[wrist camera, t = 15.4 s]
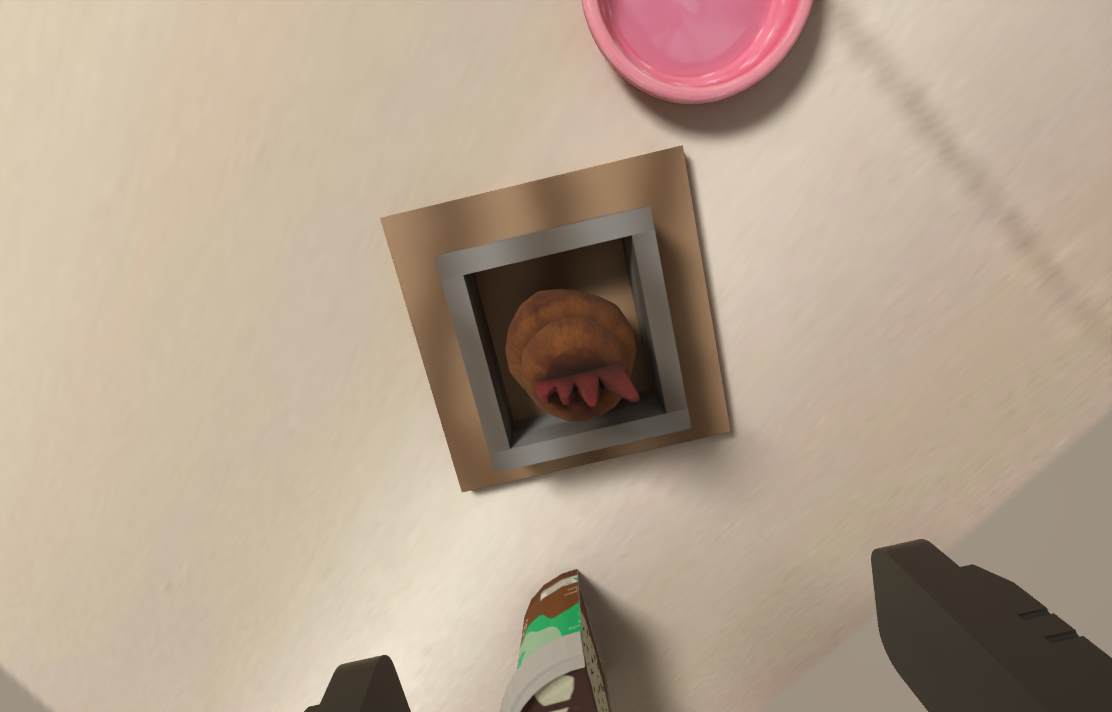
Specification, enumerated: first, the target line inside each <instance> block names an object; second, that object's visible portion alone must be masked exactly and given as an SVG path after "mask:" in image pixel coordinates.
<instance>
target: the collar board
mask: <svg viewBox="0 0 1112 712" xmlns="http://www.w3.org/2000/svg"><path fill="white" fill-rule="evenodd" d="M380 219H381V222H382V226H383V229H384V233H385V236H386V239H387V243H388V246H389V249H390V253H391V256H392V259H393V263H394V266H395V269H396V273H397V276H398V279H399V283H400V286H401V290H402V293H403V296H404V300H405V303H406V306H407V310H408V313H409V316H410V320H411V323H412V326H413V330H414V333H415V336H416V340H417V343H418V347H419V350H420V353H421V357H422V360H423V363H424V367H425V370H426V373H427V377H428V380H429V383H430V387H431V390H432V393H433V397H434V400H435V404H436V407H437V410H438V414H439V417H440V420H441V424H442V427H443V430H444V434H445V437H446V440H447V444H448V447H449V450H450V454H451V457H452V461H453V464H454V467H455V471H456V474H457V477H458V481H459V484H460V487H461V491H462V492H466V491H470V490H474V489H479V488H483V487H488V486H492V485H496V484H501V483H505V482H510V481H514V480H518V479H523V478H527V477H532V476H536V475H541V474H545V473H549V472H554V471H558V470H563V469H567V468H571V467H576V466H580V465H585V464H589V463H593V462H598V461H602V460H607V459H611V458H616V457H620V456H624V455H629V454H633V453H638V452H642V451H646V450H651V449H655V448H660V447H664V446H668V445H673V444H677V443H682V442H686V441H691V440H695V439H699V438H704V437H708V436H713V435H717V434H721V433H726V432H730V425H729V419H728V413H727V407H726V401H725V395H724V389H723V383H722V378H721V372H720V366H719V360H718V354H717V348H716V342H715V336H714V330H713V324H712V318H711V312H710V306H709V300H708V294H707V288H706V282H705V276H704V270H703V264H702V258H701V252H700V246H699V240H698V234H697V228H696V222H695V216H694V210H693V204H692V198H691V192H690V186H689V180H688V175H687V169H686V163H685V157H684V151H683V145H682V146H678V147H674V148H670V149H665V150H661V151H657V152H653V153H649V154H645V155H641V156H636V157H632V158H628V159H624V160H620V161H616V162H611V163H607V164H603V165H599V166H595V167H591V168H586V169H582V170H578V171H574V172H570V173H566V174H562V175H557V176H553V177H549V178H545V179H541V180H537V181H532V182H528V183H524V184H520V185H516V186H512V187H508V188H503V189H499V190H495V191H491V192H487V193H483V194H478V195H474V196H470V197H466V198H462V199H458V200H453V201H449V202H445V203H441V204H437V205H433V206H429V207H424V208H420V209H416V210H412V211H408V212H404V213H399V214H395V215H391V216H387V217H383V218H380ZM553 289H566V290H576V291H581V292H585V293H589V294H593V295H597V296H599V297H601V298H603V299H606V300H608V301H610V302H612V303H614V304H616V305H617V306H618V307H619V308H620V310H621V311H622V313H623V314H624V316H625V318H626V319H627V321H628V322H629V324H630V325H631V327H632V329H633V335H634V340H635V345H636V355H635V359H634V363H633V368H632V372H631V375H630V380H631V382H632V384H633V386H634V387H635V389H636V391H637V393H638V394H639V398H640V400H639V401H637V402H630V401H628V400H626V399H624V398H621V399H620V401H619V402H618V404H617V405H616V406H615V407H614V408H612V409H611V410H609V411H607V412H606V413H604V414H603V415H601V416H599V417H596V418H592V419H589V420H586V421H566V420H563V419H561V418H558V417H555V416H553V415H551V414H550V413H548V412H546V411H545V410H543V409H542V408H540V407H539V406H537V405H536V404H535V402H534V401H533V400H532V398H531V397H530V396H529V395H528V393H527V392H526V390H525V389H523V388H522V387H521V385H520V384H519V383H518V382H517V380H516V379H515V378H514V377H513V375H512V374H511V373H510V372H509V367H508V362H507V357H506V352H505V348H506V341H507V334H508V328H509V326H510V324H511V322H512V320H513V318H514V316H515V314H516V312H517V310H518V309H519V307H520V305H521V304H522V303H523V302H525V301H526V300H527V299H529V298H530V297H531V296H532V295H534V294H535V293H536V292H538V291H544V290H553Z"/></svg>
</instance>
